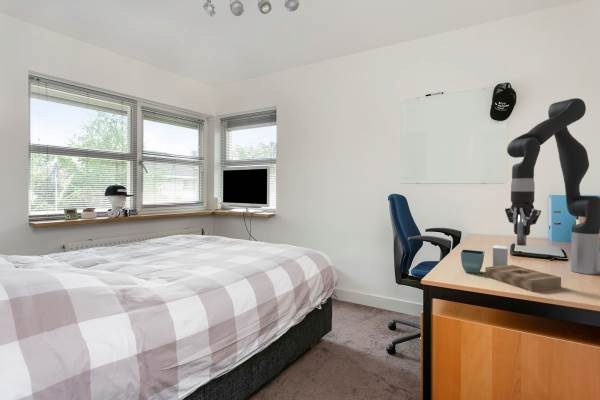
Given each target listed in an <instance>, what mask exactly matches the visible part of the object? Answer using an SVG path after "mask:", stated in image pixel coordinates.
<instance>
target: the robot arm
mask: <svg viewBox="0 0 600 400" xmlns="http://www.w3.org/2000/svg"><path fill="white" fill-rule="evenodd" d="M547 112H548V114H547V115H548V118H547V119H546V120H543V121H541V122H539V123H538V124H536V125H535V126H534V127H532V128H531V129H530V130H529V131H528V132H526V133H523V134H521V135H519V136H517V137H516V138H514V139H512V140H510V142H509V143H508V146H507V147H506V151H507V154H508V155H509V156H510V157H511V158H522V160H521V162H519V163H515V164H513V165H512V167H511V172H512V173H511V183H510V202H511V206H510V207H509V208H505V209H504V212H505V214H506V217H507V219H508V222H509V223H511V224H513V233H514V234H515V235H517V214H521V218H522V220H523V225H524V226H523V235H525V236H526V237H527V236H530V234H531V226H533V225H536V224H537V222H538V220H539V218H540V215H541V214H542V210H540V209H536V208H535V206H534V203H535V188H536V187H535V166H536V164H537V160H538V157H539V154H540V151H541V146H542V145H543V144H545V143H546V142H547V141H548V140H549V139H550V138H552V137H553V136H554V139H555V142H556V147H557V152H558V158H559V162H560V163H559V164H560V168H561V172H562V177H563V182H564V191H565V202H566V209H567V212H568V214H570V215H571V216H572V217H580V218H585V220H584V221H583V222H580V223H577V224H573V225H572V226H571V233H570V234H571V238H570V240H571V245H570V250H571V251H570V271H571V272H574V273H577V274H583V275H599V274H600V197H599V196H596V195H581V192H580V190H581V189H580V186H581V182H582V181H583V179H584V177H585V175H586V174H587V172H588V170H589V167H590V160H589V156H588V151H587V149H586V148H585V146H584V145H583V144H582V143H581V142H580V141H578V140H577V139H576V138H575V137H574V136H573V135H572V134H571V132H570V131H569V129H568V126H570V125H572V124H573V123H575V122H577V121H579V120H581V119H582V118H583V117H584V116H585V113H586V112H587V106H586V103H585V101H584V100H583V99H582V98H577V97H576V98H575V97H574V98H570V99H565V100H561V101H558V102H554V103H551V104H550V105H549V107H548V111H547Z"/></svg>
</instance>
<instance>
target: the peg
mask: <svg viewBox="0 0 600 400" xmlns="http://www.w3.org/2000/svg"><path fill="white" fill-rule="evenodd" d="M523 226H524V225H523V220H522V218H521V214H517V234H516V245H517V246H523V247H526V246H527V236H525V235H523Z"/></svg>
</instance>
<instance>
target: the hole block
mask: <svg viewBox="0 0 600 400" xmlns="http://www.w3.org/2000/svg"><path fill="white" fill-rule="evenodd" d="M484 270H485V271H484V272H485V277H486V278H488V279H491V280H494V281H497V282H501V283H504V284H507V285H510V286H512V287H515V288H516V287H517V288H518V289H519V288H520V289H521V290H526V291H529V292H536V291H537V292H538V291H546V290H547V291H548V290H553V289H561V288H562V276H557V275H554V274H549V273H546V272H542V271H538V270H534V269H530V268H526V267H521V266H517V265H515V264H509V265H508V264H507V265H505V266H494V267H493V266H487V267H486V266H485V269H484Z"/></svg>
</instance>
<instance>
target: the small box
mask: <svg viewBox="0 0 600 400" xmlns="http://www.w3.org/2000/svg"><path fill="white" fill-rule="evenodd" d="M508 250H509V249H508V246H506V245H492V267H494V266H505V265H508Z"/></svg>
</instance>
